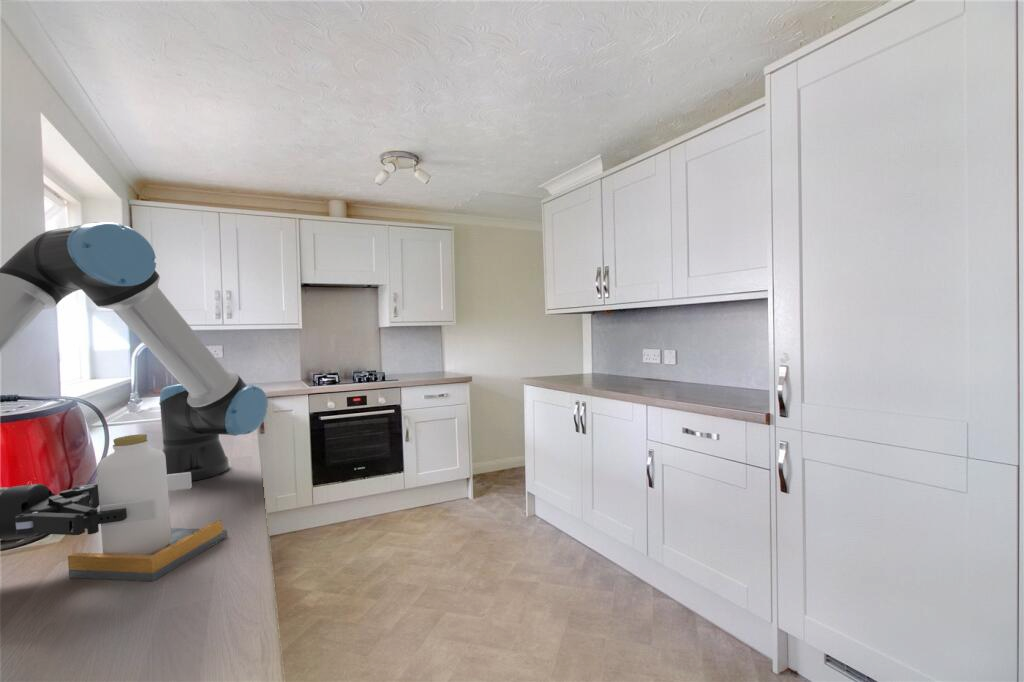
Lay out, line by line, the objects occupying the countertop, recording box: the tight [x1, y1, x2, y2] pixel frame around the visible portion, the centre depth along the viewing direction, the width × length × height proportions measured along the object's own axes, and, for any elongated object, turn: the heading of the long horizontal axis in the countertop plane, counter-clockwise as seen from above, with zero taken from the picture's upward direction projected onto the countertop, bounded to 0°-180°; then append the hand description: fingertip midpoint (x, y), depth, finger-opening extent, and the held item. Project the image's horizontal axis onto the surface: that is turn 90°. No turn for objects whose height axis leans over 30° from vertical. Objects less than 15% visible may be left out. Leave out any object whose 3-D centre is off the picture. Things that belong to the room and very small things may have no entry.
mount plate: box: [67, 520, 228, 582], centre depth 74 cm, size 14×14×3 cm
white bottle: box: [96, 433, 172, 555], centre depth 72 cm, size 8×8×18 cm
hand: (174, 493), depth 75 cm, fingers open, 13 cm apart
